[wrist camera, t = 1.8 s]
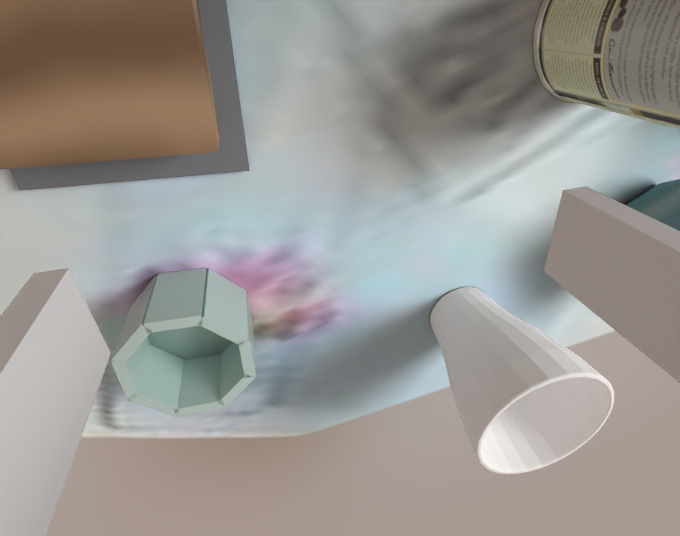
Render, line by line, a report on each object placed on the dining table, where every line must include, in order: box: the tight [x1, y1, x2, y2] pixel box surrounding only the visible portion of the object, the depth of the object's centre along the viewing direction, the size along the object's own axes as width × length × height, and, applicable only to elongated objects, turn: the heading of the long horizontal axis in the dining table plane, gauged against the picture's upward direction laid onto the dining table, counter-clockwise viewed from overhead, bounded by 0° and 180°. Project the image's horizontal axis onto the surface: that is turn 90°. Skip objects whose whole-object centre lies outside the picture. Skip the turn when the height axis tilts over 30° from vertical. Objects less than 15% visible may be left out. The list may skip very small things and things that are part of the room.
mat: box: [10, 0, 249, 190], centre depth 23 cm, size 16×14×1 cm
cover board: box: [0, 0, 220, 169], centre depth 21 cm, size 11×11×4 cm
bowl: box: [111, 268, 256, 417], centre depth 31 cm, size 9×9×6 cm
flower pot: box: [626, 179, 680, 231], centre depth 35 cm, size 9×9×9 cm
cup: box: [430, 287, 614, 474], centre depth 34 cm, size 10×10×14 cm
